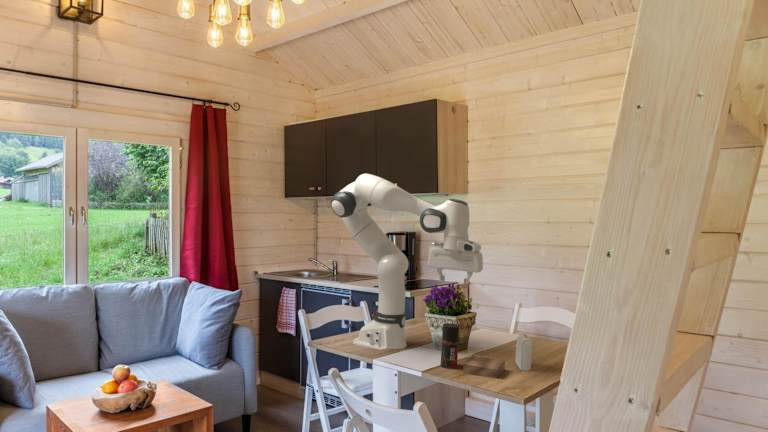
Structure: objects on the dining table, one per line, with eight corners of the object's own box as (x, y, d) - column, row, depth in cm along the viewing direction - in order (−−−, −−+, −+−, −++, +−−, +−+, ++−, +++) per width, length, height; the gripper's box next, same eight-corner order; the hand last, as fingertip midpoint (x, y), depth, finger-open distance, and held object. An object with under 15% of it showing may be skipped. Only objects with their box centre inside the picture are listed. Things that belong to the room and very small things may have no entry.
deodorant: (447, 369, 207) (449, 328, 206) (437, 364, 212) (439, 324, 211) (460, 367, 210) (462, 326, 209) (449, 362, 215) (451, 322, 214)
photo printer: (513, 362, 219) (515, 330, 219) (525, 363, 219) (527, 330, 219) (519, 371, 209) (522, 337, 208) (531, 371, 209) (534, 337, 208)
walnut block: (462, 375, 203) (463, 364, 203) (471, 366, 214) (472, 355, 213) (496, 381, 198) (497, 369, 198) (504, 371, 209) (505, 360, 209)
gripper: (425, 242, 212) (424, 280, 213) (479, 247, 202) (477, 286, 203) (432, 241, 217) (431, 278, 218) (485, 246, 208) (483, 284, 209)
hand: (453, 282), depth 211 cm, fingers open, 8 cm apart
